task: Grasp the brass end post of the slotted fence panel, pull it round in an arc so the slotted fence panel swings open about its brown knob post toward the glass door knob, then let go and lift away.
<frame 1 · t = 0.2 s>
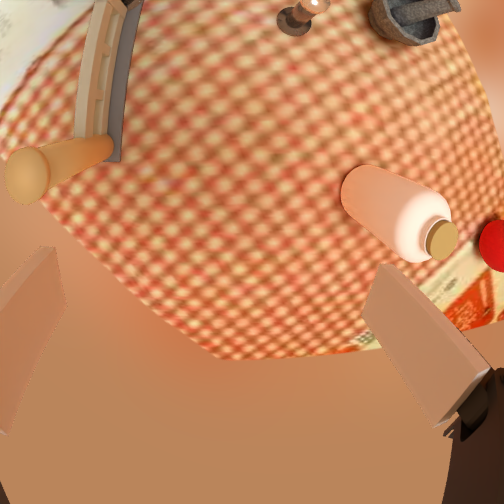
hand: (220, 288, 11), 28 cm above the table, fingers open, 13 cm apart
tomato: (484, 235, 48), on the table
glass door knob: (293, 21, 28), on the table
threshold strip: (111, 70, 28), on the table
potion bottle: (362, 190, 40), on the table
slotted fence panel: (78, 74, 20), point 10 cm above the table, hinge at 0.0°
mortar and pestle: (388, 21, 28), on the table
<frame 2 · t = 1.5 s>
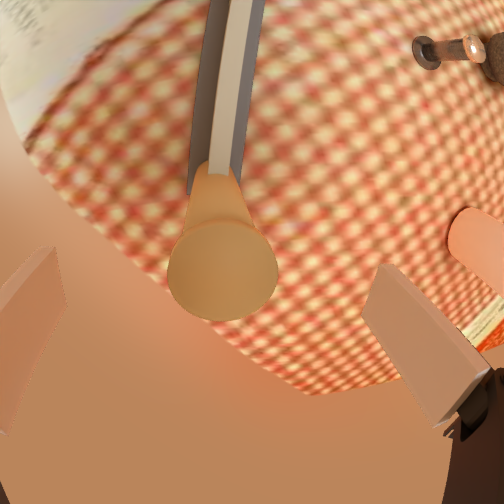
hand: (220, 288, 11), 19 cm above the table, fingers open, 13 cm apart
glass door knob: (426, 53, 23), on the table
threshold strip: (226, 74, 23), on the table
potion bottle: (461, 230, 35), on the table
slotted fence panel: (231, 77, 15), point 10 cm above the table, hinge at 0.0°
mortar and pestle: (491, 61, 23), on the table
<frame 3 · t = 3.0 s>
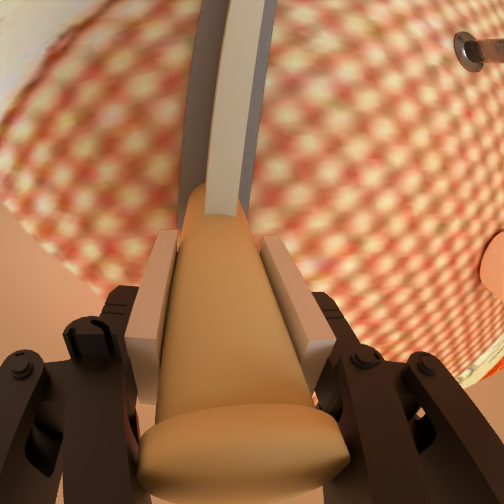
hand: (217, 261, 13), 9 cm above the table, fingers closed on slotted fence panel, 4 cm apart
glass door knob: (467, 51, 17), on the table
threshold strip: (229, 64, 17), on the table
potion bottle: (493, 255, 29), on the table
slotted fence panel: (242, 58, 9), point 10 cm above the table, hinge at 0.0°, touching gripper
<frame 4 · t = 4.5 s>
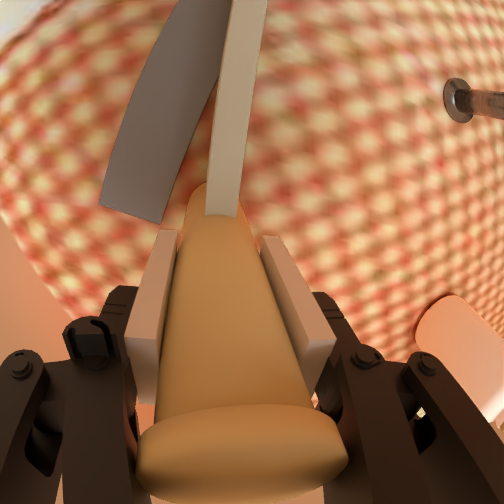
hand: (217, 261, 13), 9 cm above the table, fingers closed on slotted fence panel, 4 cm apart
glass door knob: (458, 100, 19), on the table
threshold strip: (188, 56, 16), on the table
potion bottle: (436, 318, 31), on the table
slotted fence panel: (244, 59, 9), point 10 cm above the table, hinge at 15.7°, touching gripper
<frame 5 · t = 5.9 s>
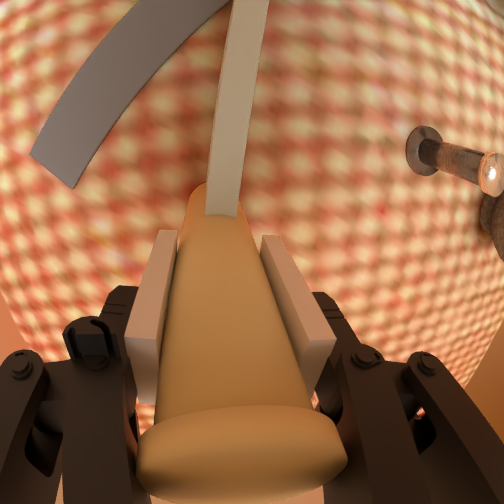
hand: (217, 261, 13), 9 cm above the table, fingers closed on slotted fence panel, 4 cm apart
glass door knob: (424, 150, 21), on the table
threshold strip: (146, 36, 15), on the table
slotted fence panel: (245, 59, 9), point 10 cm above the table, hinge at 34.2°, touching gripper
mortar and pestle: (495, 208, 25), on the table
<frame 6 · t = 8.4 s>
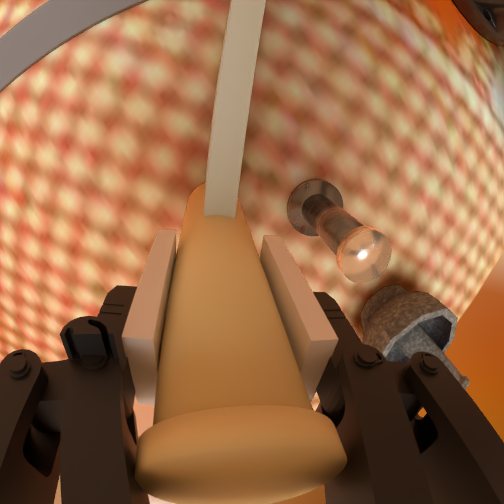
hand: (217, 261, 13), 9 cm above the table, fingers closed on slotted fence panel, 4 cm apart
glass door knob: (314, 207, 22), on the table
potion bottle: (151, 389, 29), on the table
slotted fence panel: (242, 60, 9), point 10 cm above the table, hinge at 64.5°, touching gripper
mortar and pestle: (387, 310, 29), on the table
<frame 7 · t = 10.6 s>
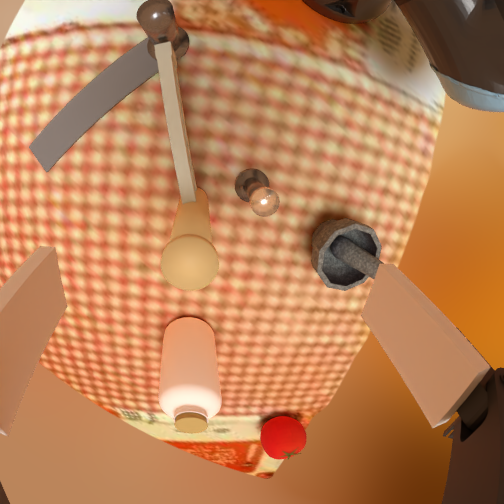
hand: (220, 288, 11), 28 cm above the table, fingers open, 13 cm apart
brown knob post: (168, 44, 28), resting in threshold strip
tomato: (277, 420, 63), on the table
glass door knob: (251, 185, 38), on the table
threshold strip: (98, 97, 29), on the table
potion bottle: (189, 333, 46), on the table
slotted fence panel: (175, 140, 25), point 10 cm above the table, hinge at 64.5°
mortar and pestle: (333, 239, 43), on the table
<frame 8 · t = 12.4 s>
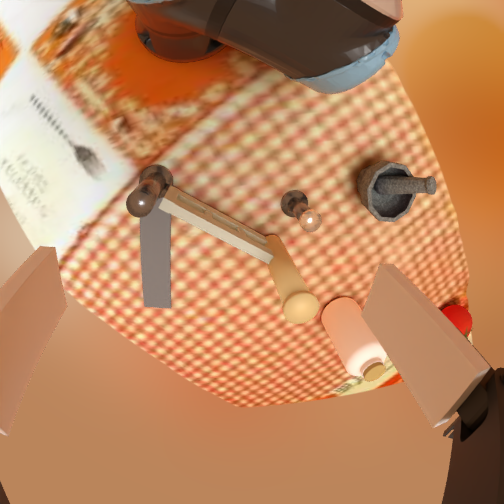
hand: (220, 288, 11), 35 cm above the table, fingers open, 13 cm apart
brown knob post: (156, 181, 42), resting in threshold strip
tomato: (442, 314, 67), on the table
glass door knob: (294, 203, 47), on the table
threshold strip: (155, 247, 47), on the table
potion bottle: (337, 310, 59), on the table
slotted fence panel: (232, 244, 38), point 10 cm above the table, hinge at 64.5°
mortar and pestle: (374, 180, 47), on the table
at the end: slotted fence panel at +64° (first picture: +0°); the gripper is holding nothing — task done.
